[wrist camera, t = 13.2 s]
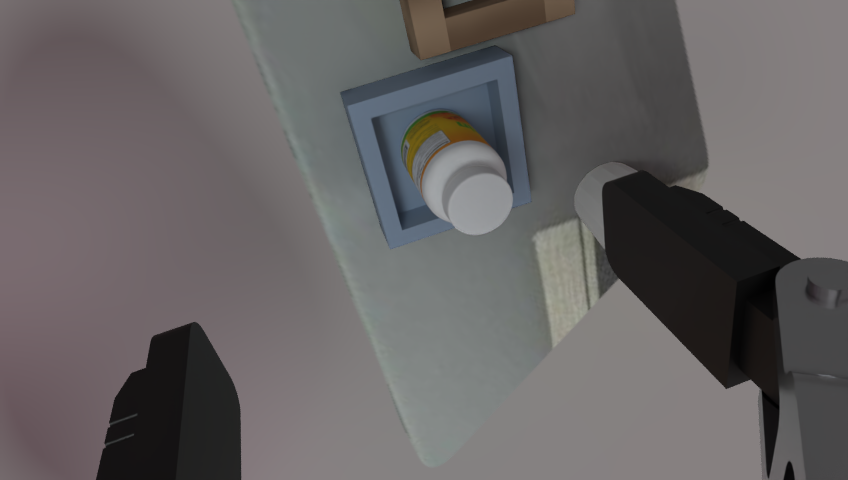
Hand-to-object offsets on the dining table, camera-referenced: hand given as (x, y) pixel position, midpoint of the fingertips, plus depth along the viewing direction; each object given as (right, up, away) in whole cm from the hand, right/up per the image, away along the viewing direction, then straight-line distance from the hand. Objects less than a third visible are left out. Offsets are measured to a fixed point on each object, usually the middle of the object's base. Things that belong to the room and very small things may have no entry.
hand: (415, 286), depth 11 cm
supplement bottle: (+1, +8, +31) cm, 32 cm away
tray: (+1, +8, +32) cm, 32 cm away
